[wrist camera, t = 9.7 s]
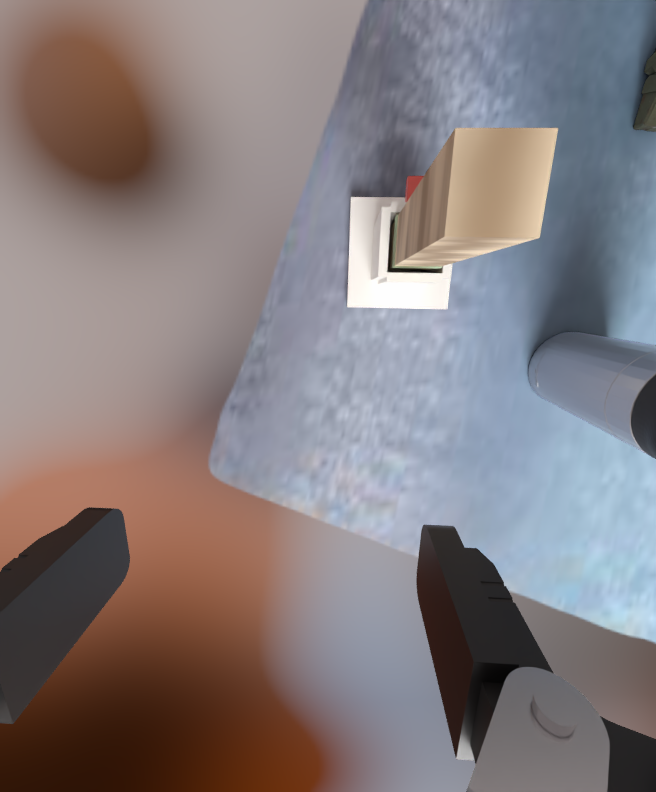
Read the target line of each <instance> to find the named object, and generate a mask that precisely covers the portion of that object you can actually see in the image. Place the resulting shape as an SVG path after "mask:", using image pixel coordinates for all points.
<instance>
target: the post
mask: <svg viewBox="0 0 656 792" xmlns="http://www.w3.org/2000/svg"><path fill="white" fill-rule="evenodd" d="M557 132H558V128H455V129H454V131H453V133H452V134H451V136H450V137H449V139H448V140H447V142H446V143H445V145H444V146H443V148H442V149H441V151H440V152H439V154H438V155H437V157H436V158H435V160H434V161H433V163H432V165H431V166H430V168H429V169H428V171H427V172H426V174H425V175H424V177H423V178H422V180H421V181H420V183H419V184H418V186H417V187H416V189H415V190H414V192H413V194H412V195H411V197H410V198H409V200H408V201H407V203H406V204H405V206H404V207H403V209H402V210H401V212H400V213H399V214H397V215H396V217H395V221H394V222H393V224H392V226H391V235H390V251H389V267H388V269H393V270H430V269H439V268H442V266H444V265H448V264H451V263H455V262H458V261H461V260H465V259H468V258H472V257H475V256H479V255H482V254H486V253H489V252H492V251H496V250H499V249H503V248H506V247H510V246H513V245H517V244H520V243H524V242H527V241H530V240H534V239H537V238H540V232H541V227H542V221H543V215H544V209H545V203H546V197H547V191H548V185H549V179H550V174H551V168H552V162H553V156H554V150H555V144H556V138H557Z"/></svg>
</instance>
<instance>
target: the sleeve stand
mask: <svg viewBox="0 0 656 792" xmlns="http://www.w3.org/2000/svg"><path fill="white" fill-rule="evenodd" d="M423 177H424V176H408V178H407V180H406V194H405V197H351V210H350V240H349V270H348V300H347V307H366V308H412V309H447V307H448V298H449V289H450V280H451V272H452V263H451V264H448V265H444V266H442V268H439V269H430V270H393V269H388V267H389V251H390V235H391V226H392V224H393V222H394V221H395V217H396V215H397V214H399V213H400V212H401V210H402V209H403V207H404V206H405V204H406V203H407V201H408V200H409V198H410V197H411V195H412V194H413V192H414V190H415V189H416V187H417V186H418V184H419V183H420V181H421V180H422V178H423Z"/></svg>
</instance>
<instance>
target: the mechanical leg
mask: <svg viewBox="0 0 656 792" xmlns="http://www.w3.org/2000/svg"><path fill="white" fill-rule="evenodd" d="M644 72H645V73H646V74H648V75H649V77H648V78H647V79H646V81H645V83H644V87H643V90H642V93H641V94H643V96H642V100H641V103H640V107H639V110H638V113H637V117H636V120H635V124H634V129H635V130H639V129H640V130H645V131H653V132H656V49H655V52H654V54H653V55H652V56H651V57H650V58H649V59H648V60H647V63H646V67H645V71H644Z"/></svg>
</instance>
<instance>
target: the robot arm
mask: <svg viewBox="0 0 656 792" xmlns="http://www.w3.org/2000/svg"><path fill="white" fill-rule="evenodd" d="M528 376H529V382H530V384H531V387H532V388H533V390H534V391H535V392H536V394H538V395H539V396H540V397H541V398H543V399H545V400H547V401H549V402H550V403H552V404H554V405H556V406H558V407H559V408H561V409H563V410H565V411H567V412H569V413H571V414H572V415H574V416H576V417H578V418H580V419H582V420H584V421H586V422H587V423H589V424H591V425H593V426H595V427H597V428H599V429H601V430H602V431H604V432H606V433H608V434H610V435H612V436H614V437H615V438H617V439H619V440H621V441H623V442H625V443H627V444H629V445H631V446H633V447H635V448H636V449H638V450H640V451H642V452H644V453H646V454H648V455H649V456H651V457H653V458H655V459H656V345H652V344H646V343H640V342H634V341H628V340H622V339H616V338H610V337H604V336H599V335H593V334H587V333H581V332H565V333H561V334H558V335H555V336H553V337H551V338H550V339H548V340H546V341H545V342H544V343H543V344H542V345H540V346H539V348H538V349H537V350H536V352H535V353H534V355H533V357H532V359H531V361H530V365H529V371H528ZM129 563H130V555H129V549H128V542H127V536H126V530H125V523H124V517H123V514H122V512H121V511H120V510H119V509H111V508H90V507H89V508H87V509H84V510H83V511H82V512H80V513H79V514H78V515H77V516H76V517H74V518H73V519H72V520H71V521H69V522H68V523H67V524H66V525H65V526H62V527H60V528H58V529H57V530H55V531H53V532H51V533H49V534H47V535H45V536H43V537H41V538H40V539H38V540H37V541H35V542H34V543H33V544H32V545H30V546H29V547H28V548H27V549H25V550H24V551H23V552H22V553H20V554H19V557H18V558H14V559H13V560H12V561H10V562H9V563H8V564H7V565H5V566H4V567H3V568H2V570H1V572H0V723H9V724H13V723H14V722H15V721H16V719H17V718H18V717H19V715H20V714H21V713H22V712H23V710H24V709H25V708H26V706H27V705H28V704H29V703H30V701H31V700H32V699H33V697H34V696H35V695H36V693H37V692H38V691H39V690H40V688H41V687H42V686H43V684H44V683H45V682H46V681H47V679H48V678H49V677H50V675H51V674H52V673H53V672H54V670H55V669H56V668H57V666H58V665H59V664H60V662H61V661H62V660H63V659H64V657H65V656H66V655H67V653H68V652H69V651H70V649H71V648H72V647H73V646H74V644H75V643H76V642H77V641H78V639H79V638H80V636H81V635H82V634H83V632H84V631H85V630H86V629H87V628H88V626H89V625H90V624H91V622H92V621H93V620H94V619H95V617H96V616H97V615H98V613H99V612H100V611H101V609H102V608H103V607H104V606H105V604H106V603H107V602H108V600H109V599H110V598H111V596H112V595H113V594H114V593H115V591H116V590H117V588H118V587H119V586H120V585H121V584H122V582H123V580H124V579H125V577H126V574H127V571H128V568H129ZM417 594H418V600H419V605H420V609H421V613H422V618H423V622H424V626H425V630H426V634H427V638H428V642H429V647H430V651H431V655H432V660H433V664H434V668H435V672H436V676H437V680H438V685H439V689H440V693H441V697H442V702H443V706H444V710H445V714H446V719H447V723H448V727H449V731H450V735H451V740H452V743H453V748H454V752H455V756H456V759H460V760H473V761H475V763H476V765H475V768H474V771H473V774H472V777H471V780H470V783H469V786H468V788H467V791H466V792H656V739H654V738H651V737H648V736H646V735H643V734H641V733H638V732H635V731H633V730H630V729H628V728H625V727H622V726H620V725H617V724H615V723H613V722H610V721H608V720H606V719H604V718H603V717H601V716H599V714H598V712H597V711H596V710H595V708H594V707H593V706H592V704H591V703H590V702H589V701H588V700H587V698H586V697H585V696H584V695H583V694H582V693H581V692H580V691H579V690H577V689H576V688H575V687H574V686H573V685H571V684H570V683H569V682H567V681H566V680H564V679H563V678H561V677H559V676H557V675H555V674H554V673H553V671H552V670H551V668H550V666H549V665H548V662H547V661H546V659H545V657H544V655H543V653H542V652H541V650H540V648H539V646H538V644H537V642H536V641H535V639H534V637H533V635H532V633H531V631H530V630H529V628H528V626H527V624H526V622H525V621H524V619H523V617H522V615H521V613H520V611H519V610H518V608H517V606H516V604H515V603H513V600H512V597H511V595H510V593H509V591H508V589H507V588H506V586H504V582H503V580H502V578H501V577H500V575H499V573H498V571H497V569H496V567H495V566H494V564H493V563H492V562H491V561H490V560H489V559H488V558H487V557H485V556H484V555H483V554H482V553H481V552H480V551H479V550H478V549H477V548H464V546H463V543H462V541H461V539H460V537H459V535H458V533H457V531H456V529H455V527H453V526H440V525H423V527H422V532H421V540H420V549H419V558H418V567H417Z"/></svg>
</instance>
